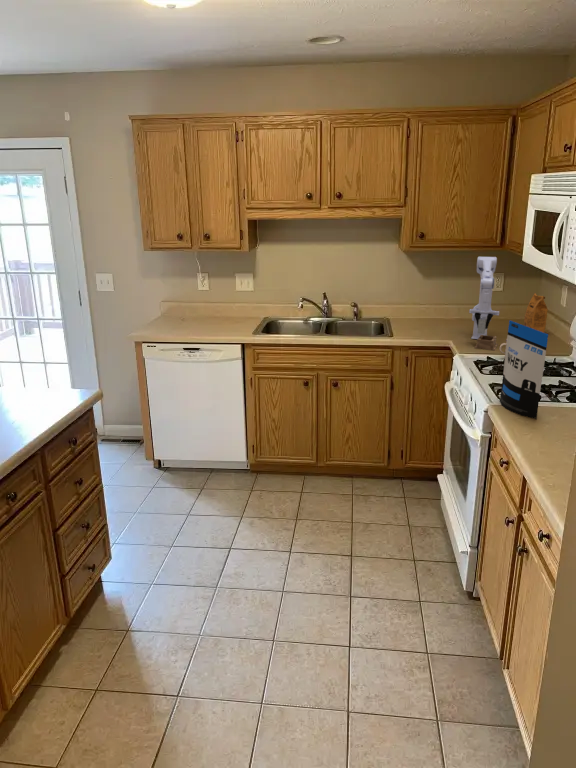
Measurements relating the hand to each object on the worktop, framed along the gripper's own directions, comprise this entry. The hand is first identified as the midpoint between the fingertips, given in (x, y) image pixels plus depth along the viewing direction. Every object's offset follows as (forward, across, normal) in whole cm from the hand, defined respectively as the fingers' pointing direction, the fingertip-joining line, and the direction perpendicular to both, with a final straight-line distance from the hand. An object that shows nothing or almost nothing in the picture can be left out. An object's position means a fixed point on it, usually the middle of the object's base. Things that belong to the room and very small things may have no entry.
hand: (482, 328), depth 298 cm
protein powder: (+10, +27, -93) cm, 97 cm away
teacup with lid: (+10, +17, -20) cm, 28 cm away
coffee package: (+10, +22, +46) cm, 52 cm away
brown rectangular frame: (+9, +3, 0) cm, 10 cm away
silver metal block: (+2, 0, 0) cm, 2 cm away
